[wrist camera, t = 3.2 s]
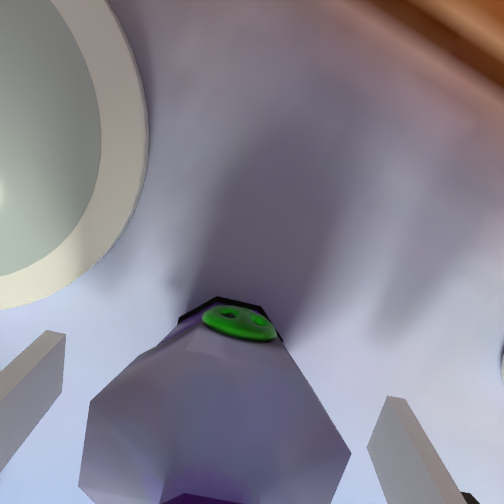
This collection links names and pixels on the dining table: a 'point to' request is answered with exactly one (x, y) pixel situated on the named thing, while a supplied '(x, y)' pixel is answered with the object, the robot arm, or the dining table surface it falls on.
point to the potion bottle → (212, 420)
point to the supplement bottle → (502, 369)
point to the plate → (65, 142)
